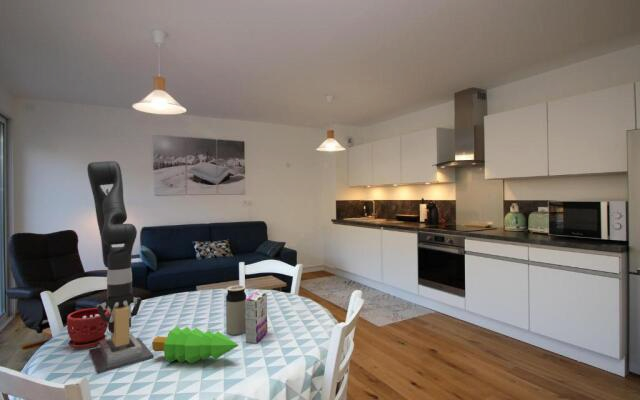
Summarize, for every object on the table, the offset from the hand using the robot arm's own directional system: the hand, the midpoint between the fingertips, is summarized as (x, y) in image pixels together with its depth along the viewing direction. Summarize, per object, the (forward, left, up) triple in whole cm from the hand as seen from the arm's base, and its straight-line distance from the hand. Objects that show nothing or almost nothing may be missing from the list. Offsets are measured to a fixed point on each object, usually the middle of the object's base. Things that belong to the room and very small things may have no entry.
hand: (120, 330), depth 116 cm
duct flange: (0, 0, -9) cm, 9 cm away
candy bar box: (+19, +43, -9) cm, 48 cm away
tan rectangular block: (0, 0, -4) cm, 4 cm away
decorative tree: (+23, +18, -9) cm, 30 cm away
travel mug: (+8, +40, -9) cm, 42 cm away
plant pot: (-19, -7, -9) cm, 22 cm away
